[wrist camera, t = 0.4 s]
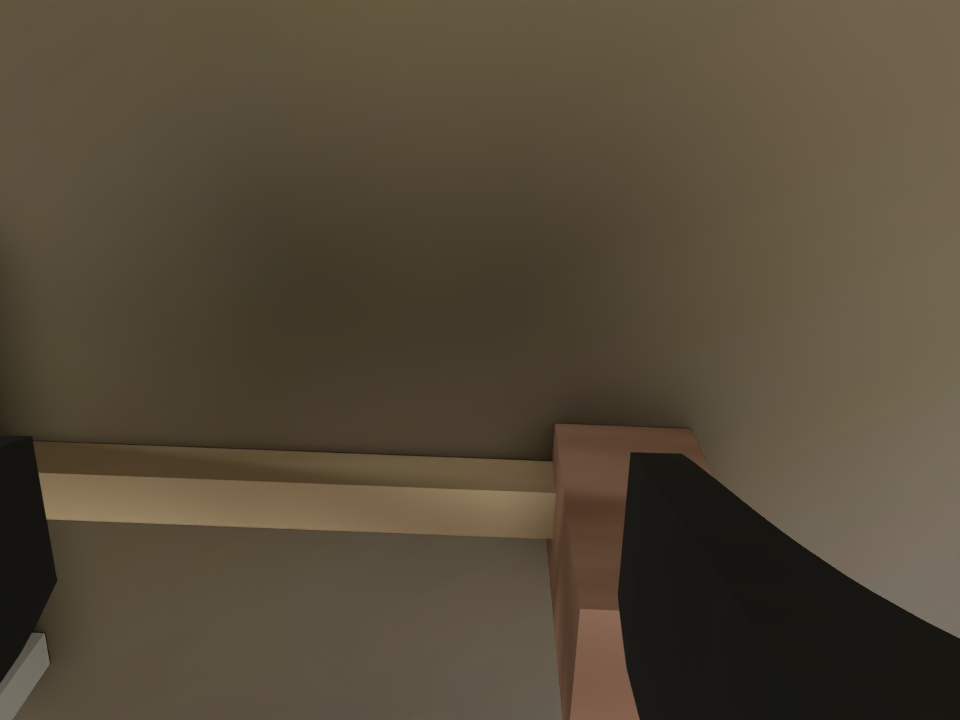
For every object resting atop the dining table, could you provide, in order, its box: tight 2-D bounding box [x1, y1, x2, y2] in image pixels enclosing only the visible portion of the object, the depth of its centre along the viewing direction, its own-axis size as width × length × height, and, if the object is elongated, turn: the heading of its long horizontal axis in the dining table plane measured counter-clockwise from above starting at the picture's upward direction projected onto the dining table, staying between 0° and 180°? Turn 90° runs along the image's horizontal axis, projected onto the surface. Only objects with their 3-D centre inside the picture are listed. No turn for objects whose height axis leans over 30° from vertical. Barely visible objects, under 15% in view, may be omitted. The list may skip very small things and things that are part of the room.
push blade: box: [33, 424, 713, 720], centre depth 19 cm, size 6×19×7 cm, turn 88°
